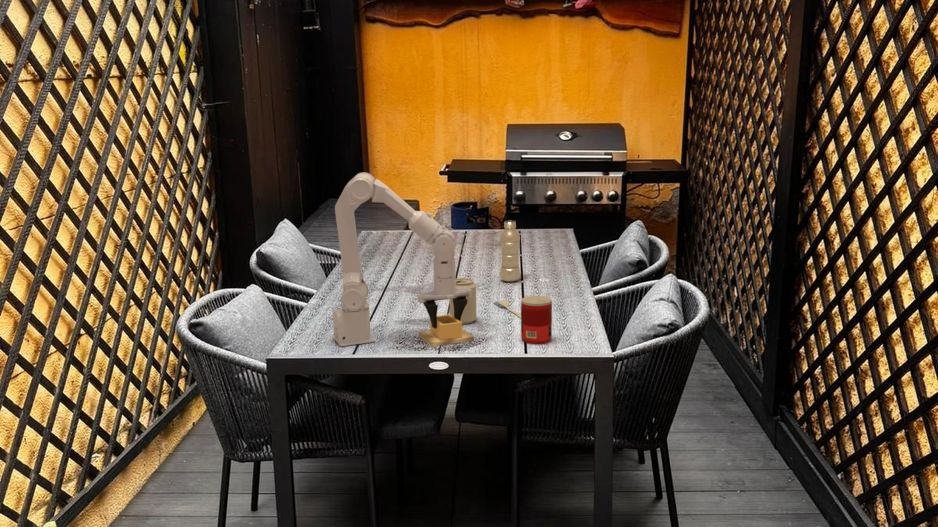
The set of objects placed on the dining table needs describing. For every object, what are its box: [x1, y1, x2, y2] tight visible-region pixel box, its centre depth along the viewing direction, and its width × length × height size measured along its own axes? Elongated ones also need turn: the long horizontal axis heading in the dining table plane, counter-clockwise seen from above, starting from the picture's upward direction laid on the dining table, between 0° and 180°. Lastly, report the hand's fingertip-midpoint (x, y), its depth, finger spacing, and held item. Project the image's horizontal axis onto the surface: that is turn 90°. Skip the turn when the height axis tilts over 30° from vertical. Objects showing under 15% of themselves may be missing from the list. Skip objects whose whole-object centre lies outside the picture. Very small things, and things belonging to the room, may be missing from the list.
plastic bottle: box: [499, 220, 521, 283], centre depth 289 cm, size 6×7×20 cm
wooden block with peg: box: [417, 321, 475, 348], centre depth 233 cm, size 12×10×4 cm
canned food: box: [520, 295, 553, 345], centre depth 230 cm, size 8×8×11 cm
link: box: [429, 313, 463, 340], centre depth 233 cm, size 6×8×4 cm
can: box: [449, 277, 477, 325], centre depth 247 cm, size 8×8×12 cm
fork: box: [493, 300, 521, 319], centre depth 258 cm, size 3×21×3 cm, turn 25°
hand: (445, 325), depth 233 cm, fingers closed on link, 6 cm apart
